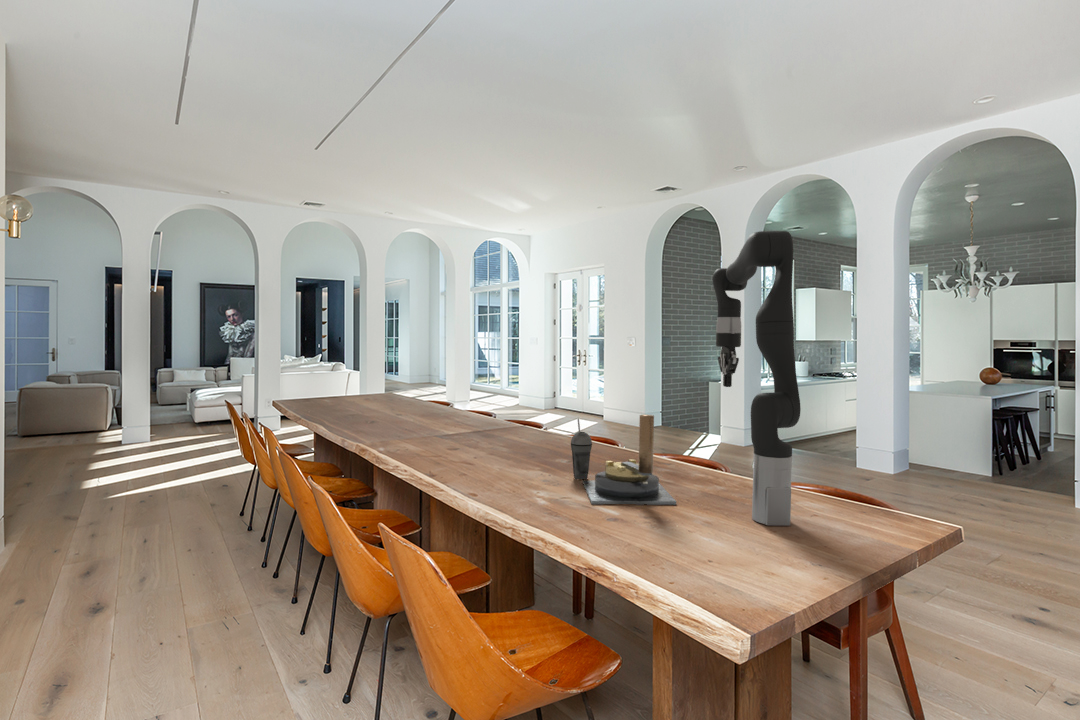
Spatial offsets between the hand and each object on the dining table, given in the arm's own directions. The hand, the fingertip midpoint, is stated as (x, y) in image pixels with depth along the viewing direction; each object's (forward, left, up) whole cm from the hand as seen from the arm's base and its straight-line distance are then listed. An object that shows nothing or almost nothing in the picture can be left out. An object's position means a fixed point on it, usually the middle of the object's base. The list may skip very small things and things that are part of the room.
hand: (727, 386), depth 186 cm
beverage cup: (+10, +45, -32) cm, 56 cm away
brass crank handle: (-12, +32, -27) cm, 43 cm away
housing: (-9, +33, -32) cm, 47 cm away
